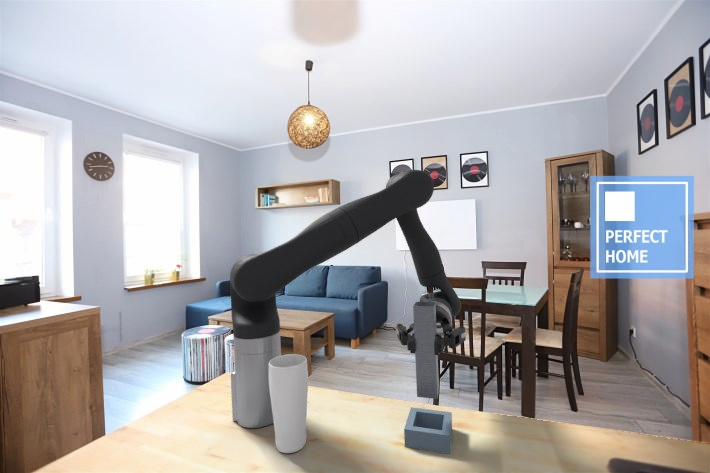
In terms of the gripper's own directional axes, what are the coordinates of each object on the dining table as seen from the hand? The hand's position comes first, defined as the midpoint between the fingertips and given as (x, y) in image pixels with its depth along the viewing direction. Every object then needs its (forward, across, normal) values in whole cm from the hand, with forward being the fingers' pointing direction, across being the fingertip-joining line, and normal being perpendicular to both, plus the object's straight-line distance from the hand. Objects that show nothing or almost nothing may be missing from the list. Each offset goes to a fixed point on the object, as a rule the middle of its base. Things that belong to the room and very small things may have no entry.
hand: (424, 348), depth 58 cm
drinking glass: (+6, -23, +17) cm, 29 cm away
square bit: (-3, 0, +9) cm, 9 cm away
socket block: (-3, 0, +17) cm, 17 cm away
